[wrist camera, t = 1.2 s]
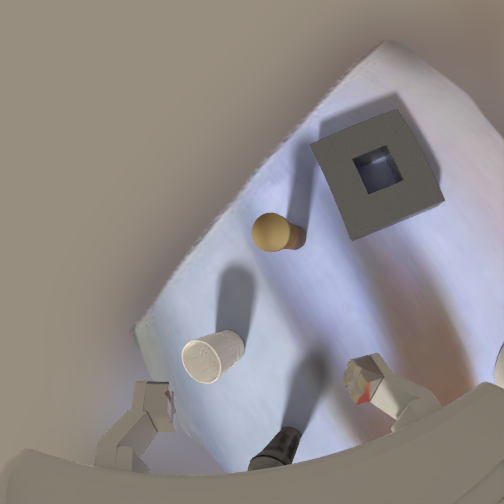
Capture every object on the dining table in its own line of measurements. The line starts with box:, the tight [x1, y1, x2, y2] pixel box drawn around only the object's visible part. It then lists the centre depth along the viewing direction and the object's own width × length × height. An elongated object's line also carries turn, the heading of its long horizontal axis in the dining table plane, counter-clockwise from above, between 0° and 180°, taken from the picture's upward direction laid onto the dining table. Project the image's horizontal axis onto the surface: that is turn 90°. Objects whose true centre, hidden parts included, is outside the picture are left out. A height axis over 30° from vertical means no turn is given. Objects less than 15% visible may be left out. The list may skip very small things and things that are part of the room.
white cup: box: [182, 330, 245, 383], centre depth 47 cm, size 8×8×10 cm
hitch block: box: [310, 109, 445, 241], centre depth 38 cm, size 16×16×5 cm
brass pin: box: [252, 213, 306, 252], centre depth 41 cm, size 5×5×12 cm
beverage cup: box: [248, 427, 301, 471], centre depth 36 cm, size 7×7×20 cm
